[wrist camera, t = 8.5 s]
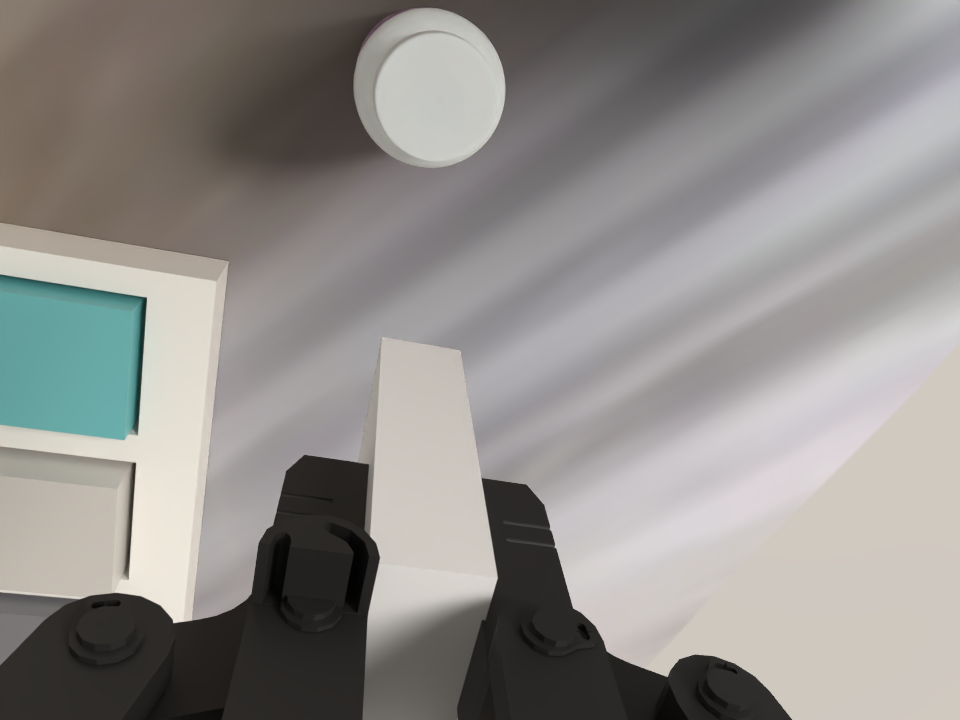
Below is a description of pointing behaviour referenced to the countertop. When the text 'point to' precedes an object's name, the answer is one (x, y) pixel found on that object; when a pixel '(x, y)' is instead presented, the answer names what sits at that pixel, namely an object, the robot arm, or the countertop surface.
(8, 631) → the charcoal key
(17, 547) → the grey key
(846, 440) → the countertop surface
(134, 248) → the keypad
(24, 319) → the teal key
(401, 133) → the pill bottle
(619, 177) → the countertop surface
